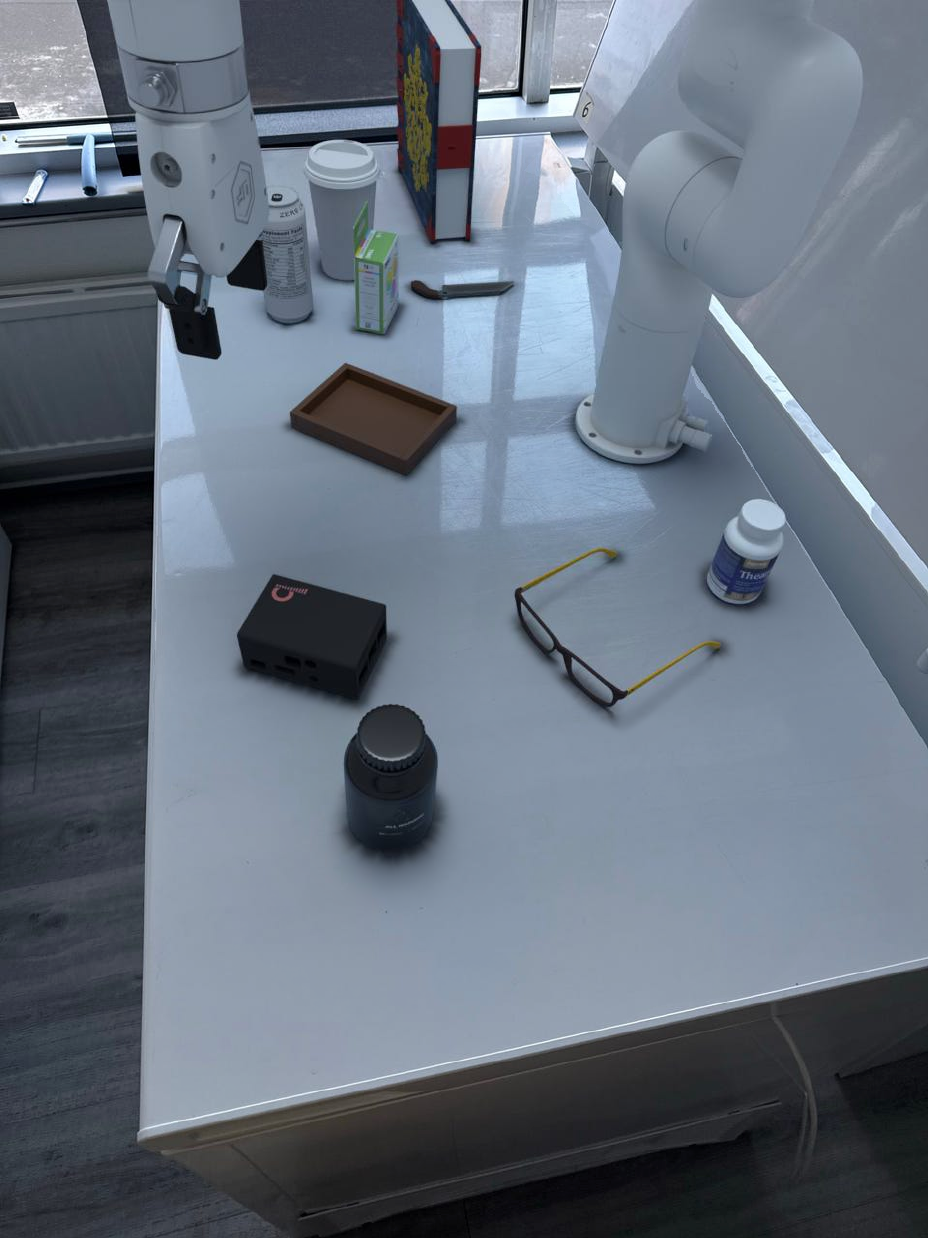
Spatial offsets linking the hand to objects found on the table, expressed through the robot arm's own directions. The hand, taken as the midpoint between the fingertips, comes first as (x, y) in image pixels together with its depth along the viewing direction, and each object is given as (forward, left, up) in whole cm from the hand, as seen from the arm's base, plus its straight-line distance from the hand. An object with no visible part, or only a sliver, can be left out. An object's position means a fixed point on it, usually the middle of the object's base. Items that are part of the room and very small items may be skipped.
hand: (225, 318), depth 69 cm
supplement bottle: (-26, +18, -25) cm, 41 cm away
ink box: (+12, -40, -25) cm, 49 cm away
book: (+22, -71, -25) cm, 78 cm away
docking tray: (+1, -22, -25) cm, 33 cm away
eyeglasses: (-34, -8, -25) cm, 43 cm away
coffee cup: (+22, -48, -25) cm, 58 cm away
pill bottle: (-42, -20, -25) cm, 53 cm away
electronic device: (-12, +8, -25) cm, 29 cm away
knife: (+6, -52, -25) cm, 58 cm away
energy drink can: (+22, -35, -25) cm, 48 cm away
